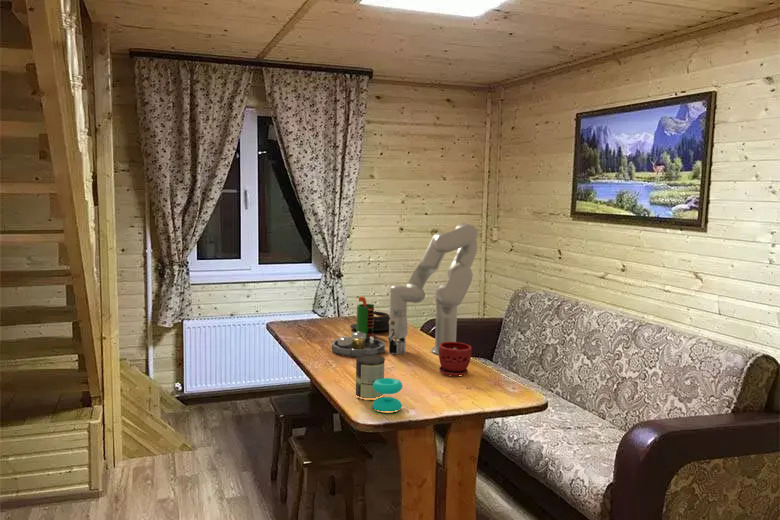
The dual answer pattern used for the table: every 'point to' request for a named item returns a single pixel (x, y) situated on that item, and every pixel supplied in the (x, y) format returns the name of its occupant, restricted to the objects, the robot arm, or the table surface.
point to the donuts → (387, 388)
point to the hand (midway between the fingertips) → (397, 350)
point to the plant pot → (454, 358)
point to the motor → (365, 318)
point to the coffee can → (368, 375)
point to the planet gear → (399, 347)
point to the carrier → (358, 345)
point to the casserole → (378, 322)
